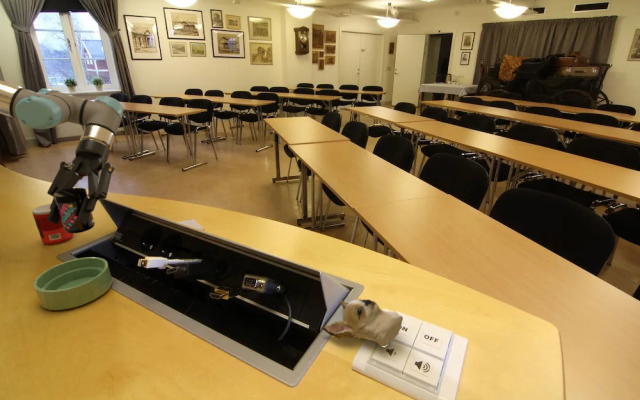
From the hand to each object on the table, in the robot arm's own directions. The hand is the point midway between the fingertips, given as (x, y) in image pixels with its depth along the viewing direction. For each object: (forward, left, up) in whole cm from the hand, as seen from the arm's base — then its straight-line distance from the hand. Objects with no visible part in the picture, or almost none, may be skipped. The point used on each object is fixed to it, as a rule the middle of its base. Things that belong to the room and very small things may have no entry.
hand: (66, 222), depth 81 cm
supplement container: (0, +4, -4) cm, 5 cm away
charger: (+23, +16, -14) cm, 31 cm away
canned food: (-20, +17, -14) cm, 30 cm away
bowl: (+6, -9, -14) cm, 18 cm away
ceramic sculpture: (+74, -20, -14) cm, 78 cm away
